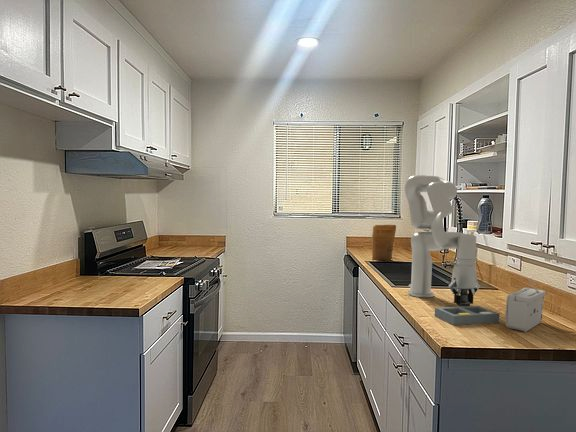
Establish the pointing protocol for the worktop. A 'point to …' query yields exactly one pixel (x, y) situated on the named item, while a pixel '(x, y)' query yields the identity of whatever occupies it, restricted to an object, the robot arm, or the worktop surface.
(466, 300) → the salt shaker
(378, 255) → the pancake mix bag
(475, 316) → the socket board
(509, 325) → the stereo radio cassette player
